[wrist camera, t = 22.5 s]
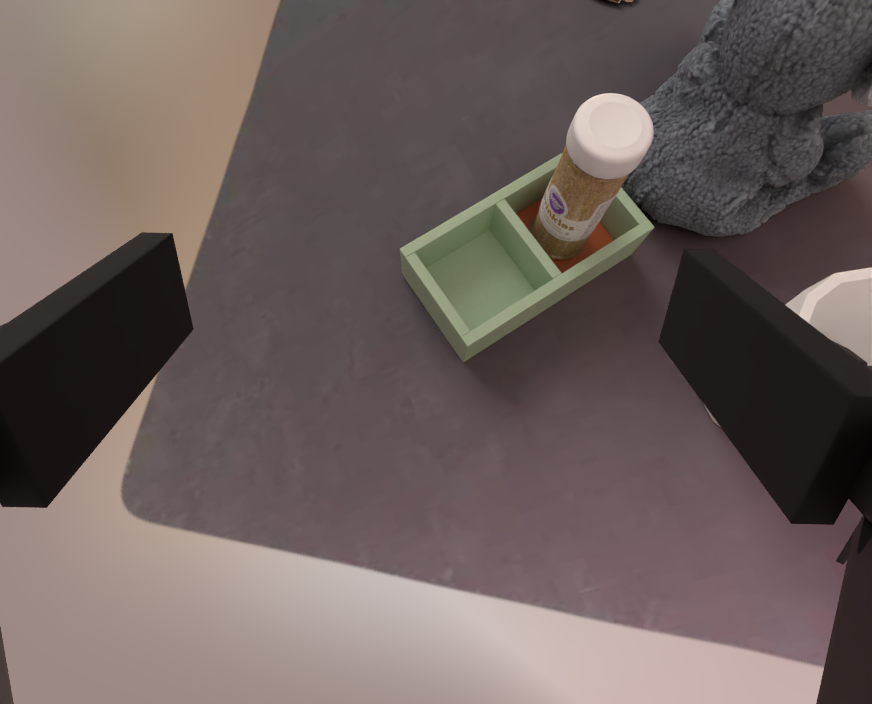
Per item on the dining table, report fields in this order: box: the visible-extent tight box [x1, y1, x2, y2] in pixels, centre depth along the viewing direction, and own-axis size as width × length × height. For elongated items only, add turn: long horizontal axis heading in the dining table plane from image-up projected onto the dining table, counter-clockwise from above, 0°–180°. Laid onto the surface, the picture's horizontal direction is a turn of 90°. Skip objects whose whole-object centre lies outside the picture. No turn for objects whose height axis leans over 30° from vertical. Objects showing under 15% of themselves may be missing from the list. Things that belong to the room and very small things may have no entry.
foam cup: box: [703, 268, 872, 427], centre depth 34 cm, size 10×9×13 cm
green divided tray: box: [400, 153, 654, 362], centre depth 41 cm, size 9×16×5 cm, turn 123°
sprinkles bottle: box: [530, 93, 654, 260], centre depth 36 cm, size 5×5×14 cm
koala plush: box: [624, 0, 872, 237], centre depth 36 cm, size 17×18×20 cm
